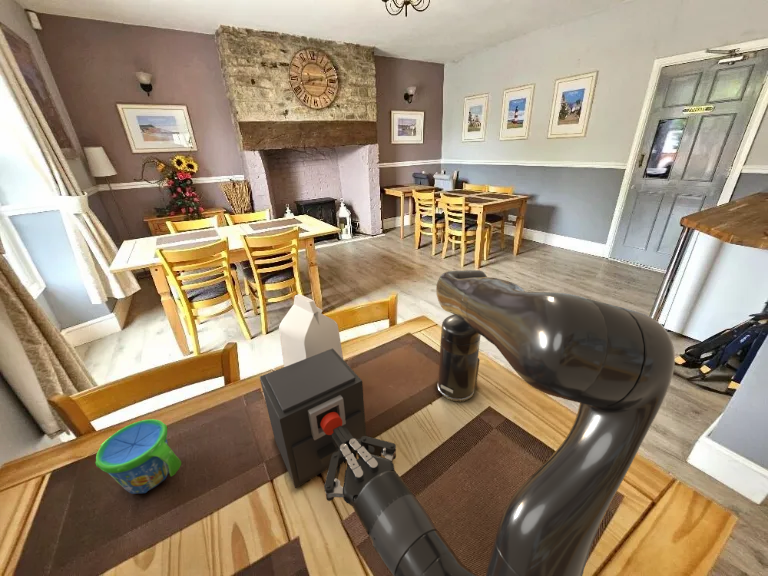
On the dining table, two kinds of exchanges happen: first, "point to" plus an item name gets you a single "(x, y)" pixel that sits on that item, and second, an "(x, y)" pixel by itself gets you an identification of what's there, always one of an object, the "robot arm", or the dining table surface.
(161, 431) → the snack cup
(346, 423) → the dark grey button box
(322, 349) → the milk
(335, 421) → the power button
